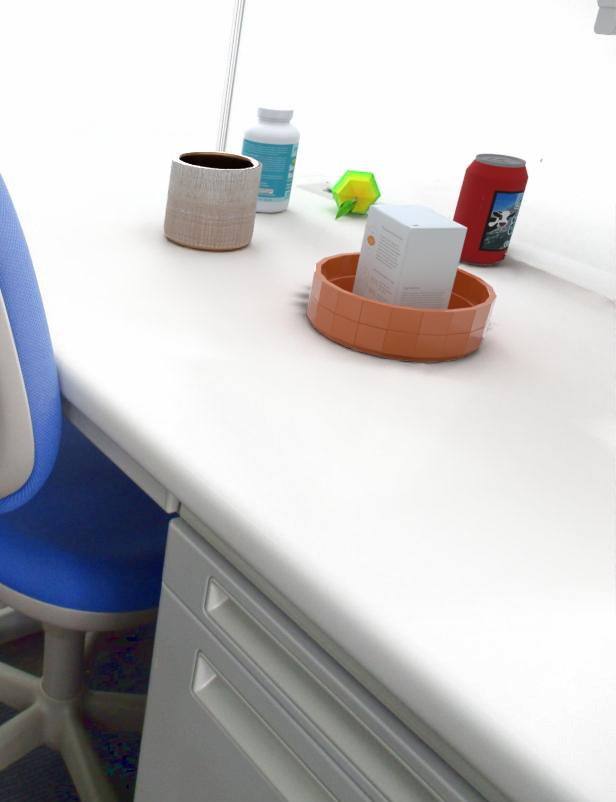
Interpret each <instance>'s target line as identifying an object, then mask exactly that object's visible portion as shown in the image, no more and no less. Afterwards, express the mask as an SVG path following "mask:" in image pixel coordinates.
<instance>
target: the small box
mask: <svg viewBox="0 0 616 802" xmlns="http://www.w3.org/2000/svg"><path fill="white" fill-rule="evenodd" d="M366 216H367V217H366V222H365V227H364V232H363V236H362V242H361V247H360V251H359V252H360V256H359V261H358V266H357V271H356V277H355V281H354V287H353V291H352V293H353V294H356V295H359V296H361V297H364V298H367V299H371V300H376V301H380V302H384V303H388V304H392V305H399V306H406V307H413V308H420V309H445V310H447V308H448V304H449V300H450V296H451V292H452V288H453V284H454V280H455V276H456V272H457V268H459V265H460V261H459V260H460V256H461V252H462V248H463V244H464V240H465V236H466V232H467V227H465V226H463V225H461V224H459V223H457V222H455V221H453V219H451V218H449V217H447V216H445V215H443V214H441V213H439V212H437V211H435V210H433V209H431V208H429V207H428V206H426V205H423V204H373V205H370V207H369V210H368V211H367V215H366Z"/></svg>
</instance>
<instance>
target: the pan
mask: <svg viewBox="0 0 616 802" xmlns="http://www.w3.org/2000/svg"><path fill="white" fill-rule="evenodd" d="M359 256H360V251H357V252H356V251H355V252H344V253H343V252H342V253H337V254H333V255H329V256H326V257H323V258H322V259H320V260H319V261H318V262H316V263H315V264H314V268H313V274H312V279H311V285H310V289H309V296H308V300H307V307H306V316H307V318H309V321H310V324H311V325H312V326H313V328H314V327H315V328H316V329H317V330H318V331H319V332H318V331H317V330H316V329H315V328H314V329H315V330H316V331H317V332H318V333H320V334H321V333H322V334H323V335H322V334H321V335H322V336H323V337H325V338H327V339H329V340H330V341H332V342H334V341H335V342H334V343H336V344H338V343H339V345H341V346H343V347H345V346H346V348H348V347H349V348H348V349H351V350H353V349H354V351H356V350H357V352H359V353H363V354H367V355H370V354H371V355H370V356H374V357H379V358H383V357H384V359H389V360H394V361H403V362H411V363H412V362H414V363H441V362H442V363H443V362H451V361H456V360H459V359H462V358H465V357H467V356H469V355H471V354H473V352H475V351H477V350H479V349H480V347H481V346H482V344H483V342H484V341H485V337H486V335H487V332H488V329H489V324H490V321H491V318H492V313H493V311H494V307H495V304H496V300H497V294H496V292H495V290H494V287H493V286H492V285H490V284H489V283H488V282H486V281H485V280H484V279H482V278H481V277H479V276H477V275H475V274H473V273H470V272H468V271H466V270H464V269H462V268H460V267H458V268H457V272H456V276H455V280H454V284H453V288H452V292H451V296H450V300H449V304H448V308H447V310H445V309H420V308H413V307H406V306H399V305H392V304H388V303H384V302H380V301H376V300H371V299H367V298H364V297H361V296H359V295H356V294H353V293H352V291H353V287H354V281H355V277H356V271H357V266H358V261H359Z"/></svg>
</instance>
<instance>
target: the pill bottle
mask: <svg viewBox="0 0 616 802" xmlns="http://www.w3.org/2000/svg"><path fill="white" fill-rule="evenodd" d="M256 115H257V120H256V121H254V122H251V123H250V124H248V125H247V126H246V127H245V129H244V131H243V138H242V144H241V145H242V146H241V152H240V153H241V154H240V155H244V156H247V157H251V158H253V159H256V160H258V161H259V162H261V163H262V171H261V178H260V185H259V192H258V200H257V207H256V213H264V214H265V213H267V214H268V213H269V214H273V213H280V212H284V211H285V210H287V208H288V207H289V204H290V199H291V192H292V187H293V180H294V175H295V169H296V162H297V157H298V150H299V144H300V140H301V139H300V135H301V134H300V131H299V129H298V128H297V127H296V126H295V125H292V124H291V121H292V119H293V117H294V108H293V107H291V106H287V105H279V104H259V105H258V106H257V112H256Z"/></svg>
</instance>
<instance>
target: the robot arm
mask: <svg viewBox="0 0 616 802" xmlns="http://www.w3.org/2000/svg"><path fill="white" fill-rule="evenodd" d="M596 3H597V7H598V10H597V14H596V18H595V21H594V24H593V33H595V34H596V35H603V36H616V0H596Z"/></svg>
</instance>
